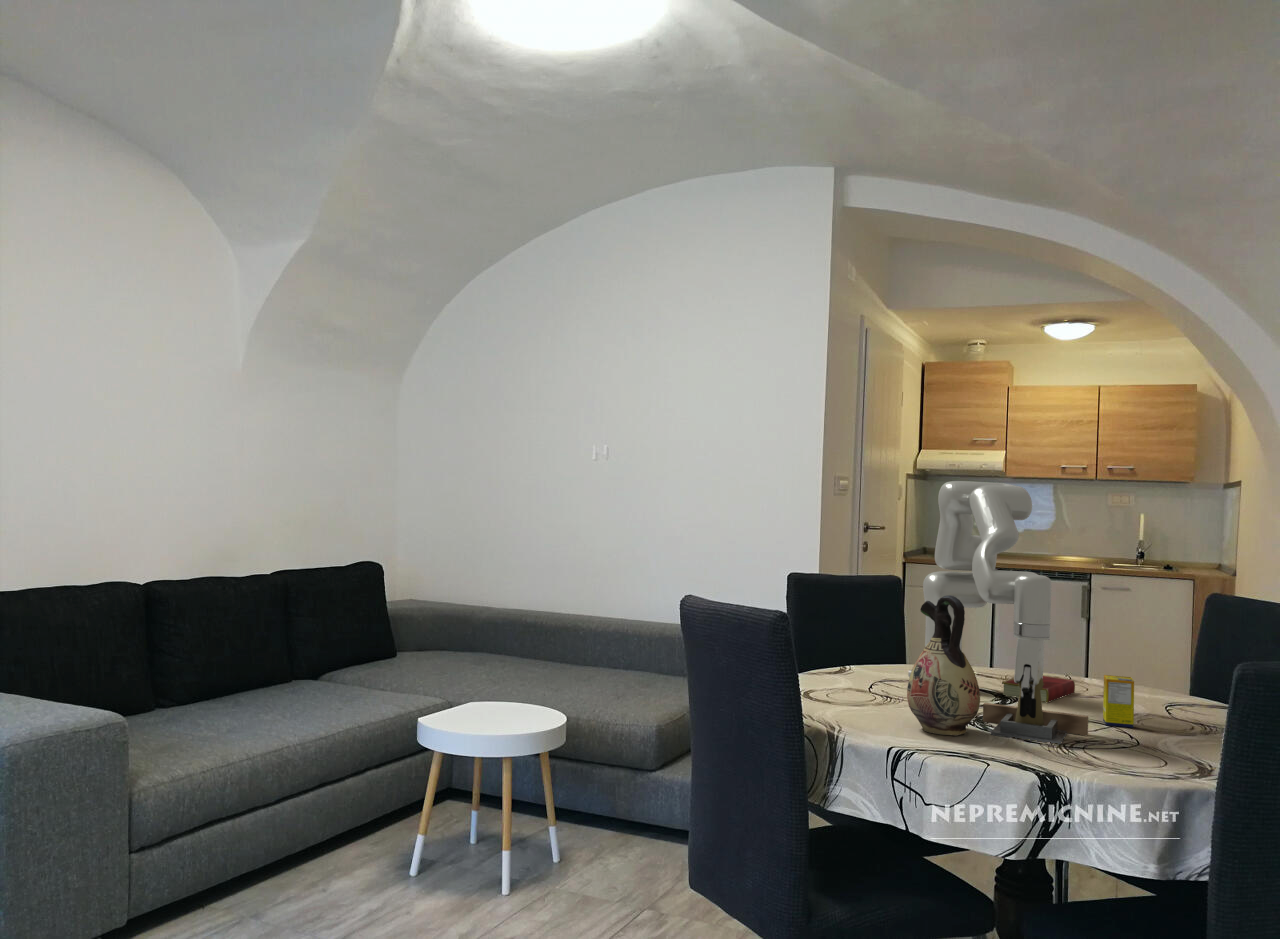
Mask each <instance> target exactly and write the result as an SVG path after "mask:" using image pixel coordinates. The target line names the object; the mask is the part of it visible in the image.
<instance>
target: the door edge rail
mask: <svg viewBox="0 0 1280 939" xmlns="http://www.w3.org/2000/svg"><path fill="white" fill-rule="evenodd" d="M1017 707H1018V706H1016V705H1007V704H998V703H992V702H983V704H982V722H983V723H984V722H985V723H992V724H997V725H998V724H999V723H1000V722H1001V720H1002V719H1003V718H1004V717H1005V716H1006V715H1007V714H1008V713H1010V714H1014V716H1013V722H1015V719H1016V713H1017ZM1042 712H1043V721H1044V726H1047V725H1048V724H1049V722H1050V721H1051V719H1056V720H1058V726H1057V730H1062V731H1067V734H1070V733H1073V734H1072V735H1078V734H1080V736H1085V735H1087V736H1089V715H1084V714H1083V715H1082V714H1077V713H1076V714H1075V713H1070V712H1069V713H1068V712H1061V711H1053V710H1052V711H1051V710H1046V709H1045V710H1044V709H1042Z"/></svg>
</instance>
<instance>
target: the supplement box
mask: <svg viewBox="0 0 1280 939" xmlns="http://www.w3.org/2000/svg"><path fill="white" fill-rule="evenodd" d="M1102 695H1103V696H1102V697H1103V704H1102V706H1103V707H1102V708H1103V709H1102V713H1103V714H1102V721H1103V723H1104V725H1105V724H1106V725H1105V726H1112V727H1123V728H1130V729H1133V728H1134V726H1135V725H1134V724H1135V680H1134V679H1133V678H1132V676H1123V675H1122V676H1121V675H1119V676H1118V675H1112V674H1111V675H1110V674H1109V675H1108V674H1104V675H1103V694H1102Z"/></svg>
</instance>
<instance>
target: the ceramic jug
mask: <svg viewBox="0 0 1280 939" xmlns="http://www.w3.org/2000/svg"><path fill="white" fill-rule="evenodd" d="M949 605H950V606H951V607H952V608H953V613H954V620H953V626H952V633H951V629H950V625H951V623H952V618H951V616H950V614H949V612H948V606H949ZM920 612H921V614H923V615H924V616H925V617H926V616H928V617H930V618H931V619H932V620H933V621H934V622H935V631H934V635H933V637H932V638H931V640H930V642H929V643H928V644H927V646H926V647H925V646H924V648H923V650H922V651H921V653H920V655H919V656H918V658H917V659H916V661H915V663H914V665H913V667H912V668H911V670H912V672H911V674H910V677H909V676H908V677H909V678H908V682H907V683H908V684H907V687H906V697H907V698H906V699H907V703H908V707H909V710H910V711H911V712H912V714H913V715H914V717H915V718H916V719H917V720H918V722H919V725H920V726H921V729H922V731H924V732H925V733H926V732H927V733H928V734H929V733H930V734H935V735H941V736H942V735H943V736H955V737H956V736H960V735H963V734H966V733H967V726H968V725H969V724H970V723H971V722H972V721H973V720H974V719H975V717H976V715H978V713H979V710H980V704H981V692H980V688H979V687H980V686H979V682H978V679H977V676H976V674H975V670H974V669H973V667H972V665H971V663H970V662H969V660H968V658H967V657H966V654H965V653H964V652H963V651H961V650H960V640H961V637H962V638H963V631H964V625H965V620H966V618H965V614H966V612H965V607H964V606H963V604H962V603H961V601H960V600H959V599H957V598H956V597H954V596H951V595H947V596H943V597H942V598H940V599H939V600H938V602H937V605H936V606H935V605H934V604H933V603H932V602H930V601H926V602H925V601H924V603H923V604H922V605H921V607H920Z"/></svg>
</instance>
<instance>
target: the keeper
mask: <svg viewBox="0 0 1280 939" xmlns="http://www.w3.org/2000/svg"><path fill="white" fill-rule="evenodd" d="M1013 716H1014V714H1010V713H1008V714H1007V715H1006V716H1005V717H1004V718H1003V719H1002V720H1001V722H1000V723H999V724H998V723H997V725H996V726H995V727H994V728H993V729H992V730H991V731H990V736H998V737H1003V736H1005V738H1010V737H1015V738H1014V739H1017V738H1022V739H1021V740H1024V739H1030V740H1029V741H1031V740H1037V741H1036V742H1038V741H1042V742H1041V743H1045V742H1051V743H1050V744H1052V743H1058V744H1057V745H1059V744H1061V745H1062V743H1063V741H1064V740H1065V738H1066V736H1067V735H1066V734H1068V733H1067V731H1062V730H1057V726H1058V720H1056V719H1051V721H1050V722H1049V724H1048V725H1047V726H1043V725H1035V724H1028V723H1021V722H1013ZM1064 737H1065V738H1064ZM1063 739H1064V740H1063ZM1061 742H1062V743H1061Z"/></svg>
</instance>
